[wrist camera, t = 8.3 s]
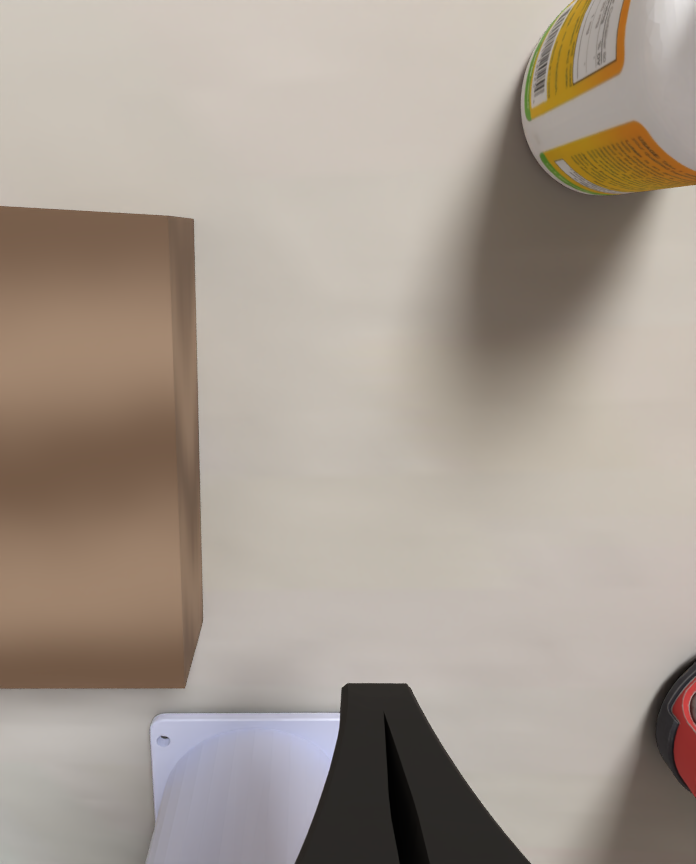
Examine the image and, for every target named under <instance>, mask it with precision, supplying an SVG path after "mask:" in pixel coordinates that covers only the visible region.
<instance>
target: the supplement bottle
mask: <svg viewBox="0 0 696 864" xmlns="http://www.w3.org/2000/svg"><path fill="white" fill-rule="evenodd" d="M521 118H522V125H523V129H524V133H525V137H526V140H527V143H528V145H529V147H530V149H531V151H532V153H533V155H534V157H535V158H536V160H537V161H538V163H539V164H540V166H541V167H542V168H543V169H544V170H545V171H546V172H547V173H548V174H549V175H550V176H551V177H552V178H554V179H555V180H556V181H557V182H559V183H560V184H562V185H564V186H566V187H567V188H569V189H572V190H574V191H577V192H580V193H584V194H589V195H601V196H602V195H618V194H628V193H635V192H642V191H650V190H657V189H665V188H673V187H681V186H689V185H696V0H574V1H572V2H571V3H570V4H569V5H568V6H567V7H566V8H565V9H564V10H563V11H562V12H561V13H560V14H559V15H558V16H557V17H556V19H555V20H554V21H553V22H552V23H551V24H550V26H549V27H548V28H547V29H546V31H545V32H544V34H543V35H542V37H541V38H540V40H539V42H538V43H537V45H536V47H535V49H534V51H533V53H532V55H531V57H530V60H529V63H528V65H527V69H526V72H525V75H524V80H523V85H522V92H521Z"/></svg>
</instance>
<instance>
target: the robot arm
mask: <svg viewBox="0 0 696 864" xmlns="http://www.w3.org/2000/svg"><path fill="white" fill-rule="evenodd" d="M160 736H167V737H168V738H167V739H165V738H162V737H160ZM150 743H151V760H152V777H153V794H154V811H155V828H154V832H153V836H152V839H151V843H150V847H149V851H148V855H147V859H146V863H145V864H531V863H530V862H529V861H528V860H527V859H526V857H525V856H524V855H523V854H522V853H521V852H520V851H519V849H518V848H517V847H516V846H515V845H514V843H513V842H512V841H511V840H510V839H509V837H508V836H507V835H506V834H505V833H504V831H503V830H502V829H501V828H500V826H499V825H498V824H497V823H496V821H495V820H494V819H493V818H492V816H491V815H490V814H489V812H488V811H487V810H486V808H485V807H484V806H483V804H482V803H481V802H480V800H479V799H478V798H477V796H476V795H475V793H474V792H473V791H472V789H471V788H470V786H469V785H468V784H467V782H466V781H465V779H464V778H463V776H462V775H461V773H460V772H459V770H458V769H457V767H456V766H455V764H454V763H453V761H452V760H451V758H450V757H449V755H448V754H447V752H446V750H445V749H444V747H443V746H442V744H441V742H440V741H439V739H438V738H437V736H436V734H435V732H434V731H433V729H432V727H431V726H430V724H429V722H428V720H427V719H426V717H425V715H424V713H423V711H422V710H421V708H420V706H419V704H418V702H417V700H416V698H415V696H414V694H413V692H412V690H411V688H410V687H409V686H408V685H407V684H393V683H347V684H346V685H345V686H344V687H342V691H341V707H340V713H164V714H159V715H157V716H155V717H154V719H153V720H152V723H151V726H150Z"/></svg>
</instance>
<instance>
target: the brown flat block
mask: <svg viewBox="0 0 696 864" xmlns="http://www.w3.org/2000/svg"><path fill="white" fill-rule="evenodd" d="M202 623H203V597H202V554H201V511H200V469H199V426H198V383H197V341H196V298H195V255H194V219H190V218H182V217H174V216H163V215H145V214H128V213H111V212H93V211H76V210H59V209H41V208H24V207H7V206H0V688H185V686H186V682H187V678H188V675H189V671H190V667H191V664H192V660H193V656H194V652H195V649H196V645H197V641H198V638H199V634H200V630H201V626H202Z"/></svg>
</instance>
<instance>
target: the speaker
mask: <svg viewBox="0 0 696 864" xmlns="http://www.w3.org/2000/svg"><path fill="white" fill-rule="evenodd" d="M656 739H657V744H658V747H659V750H660V753H661V755H662V757H663V759H664V760H665V762H666V763H667V765H668V766H669V768H670V769H671V771H672V772H673V774H674V775H675V777H676V778H677V779H678V781H679V782H680V783H681V784H682V785H683V786H684V787H685V788H686V789H687V790H688V791H690V792H691V793H692V794H693V795H694V796H695V798H696V661H695V662H694V664H693V665H692V666H691V667H689V668H688V669H687V670H686V671H685V672H684V673H683V674H682V675H681V676H680V677H679V678H678V680H677V681H676V682H675V683H674V685H673V686H672V688H671V689H670V690H669V692H668V694H667V696H666V697H665V699H664V701H663V703H662V706H661V708H660V711H659V715H658V718H657V724H656Z"/></svg>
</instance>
